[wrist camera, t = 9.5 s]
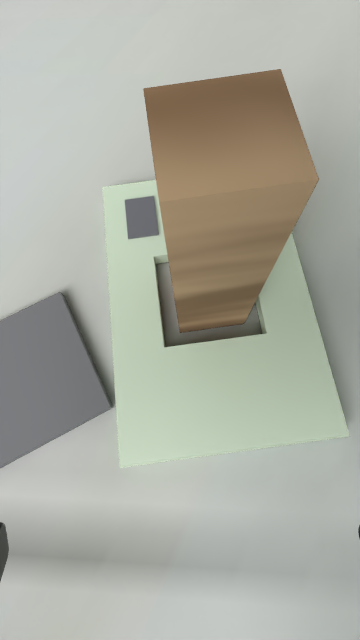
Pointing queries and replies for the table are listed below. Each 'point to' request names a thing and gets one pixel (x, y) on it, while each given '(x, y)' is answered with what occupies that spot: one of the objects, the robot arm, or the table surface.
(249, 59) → the table surface
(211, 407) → the flange plate
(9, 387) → the pad
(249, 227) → the post
